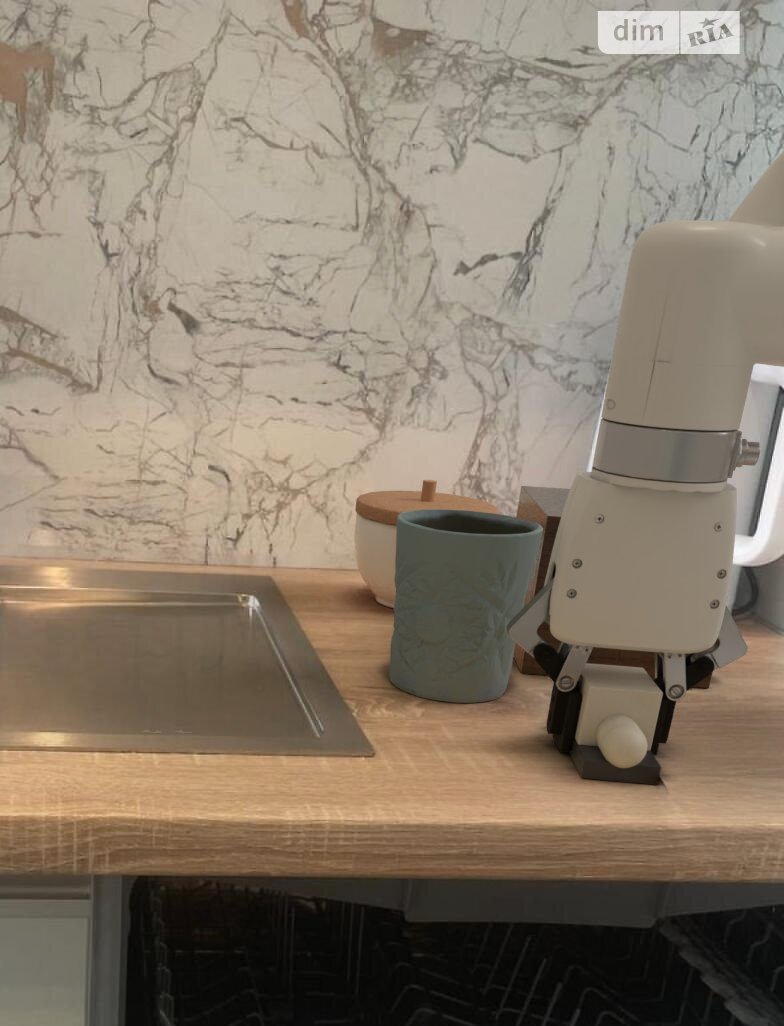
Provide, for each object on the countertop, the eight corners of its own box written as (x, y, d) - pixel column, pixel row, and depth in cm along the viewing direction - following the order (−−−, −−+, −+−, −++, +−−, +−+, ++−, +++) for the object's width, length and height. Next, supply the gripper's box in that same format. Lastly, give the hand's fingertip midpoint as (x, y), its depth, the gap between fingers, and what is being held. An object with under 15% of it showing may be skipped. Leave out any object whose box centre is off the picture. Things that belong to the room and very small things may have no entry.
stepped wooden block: (663, 638, 103) (693, 497, 98) (709, 688, 90) (746, 529, 85) (498, 625, 104) (521, 485, 99) (520, 673, 91) (547, 515, 87)
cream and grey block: (559, 732, 79) (572, 661, 77) (628, 738, 79) (643, 666, 77) (583, 783, 71) (599, 704, 69) (660, 790, 71) (678, 711, 69)
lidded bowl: (508, 619, 106) (528, 493, 102) (376, 621, 103) (391, 492, 99) (448, 585, 117) (464, 470, 113) (327, 586, 114) (338, 468, 110)
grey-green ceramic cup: (406, 707, 83) (428, 534, 78) (359, 663, 92) (376, 505, 87) (540, 704, 85) (570, 535, 80) (481, 661, 94) (505, 507, 89)
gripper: (790, 457, 72) (720, 739, 79) (506, 439, 73) (464, 718, 81) (837, 476, 65) (756, 782, 72) (523, 456, 67) (475, 758, 74)
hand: (603, 745), depth 77 cm, fingers closed on cream and grey block, 4 cm apart
